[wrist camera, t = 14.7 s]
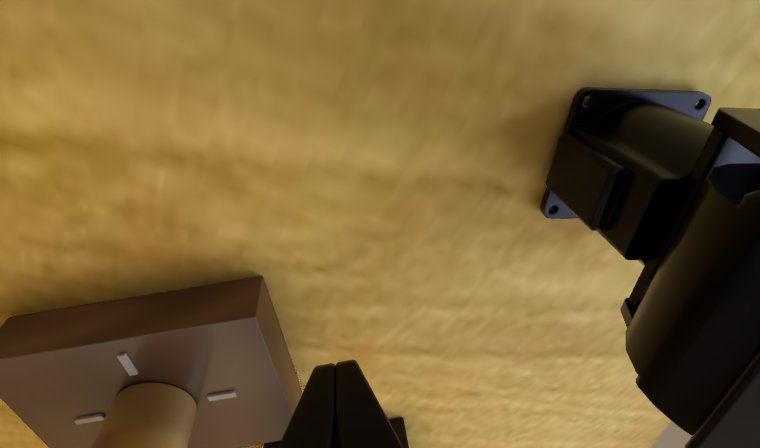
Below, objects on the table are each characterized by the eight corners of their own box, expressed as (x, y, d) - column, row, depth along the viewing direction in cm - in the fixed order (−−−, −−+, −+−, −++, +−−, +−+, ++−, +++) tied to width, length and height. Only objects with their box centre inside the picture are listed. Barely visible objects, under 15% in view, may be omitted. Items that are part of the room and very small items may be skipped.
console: (263, 275, 22) (255, 318, 19) (303, 393, 27) (301, 439, 25) (8, 317, 21) (-37, 367, 19) (100, 428, 27) (76, 480, 24)
